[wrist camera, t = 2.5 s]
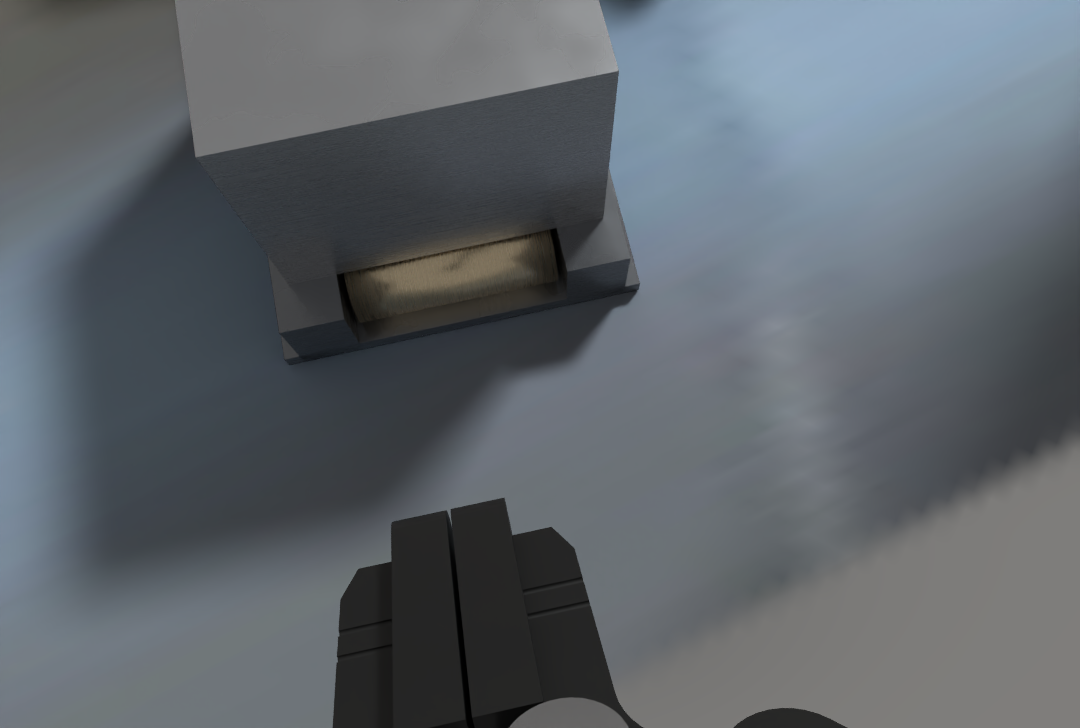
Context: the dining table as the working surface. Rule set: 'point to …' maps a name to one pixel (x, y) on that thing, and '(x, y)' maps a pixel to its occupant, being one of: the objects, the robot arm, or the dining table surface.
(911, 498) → the dining table surface
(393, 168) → the block
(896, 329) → the dining table surface
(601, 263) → the roller track
